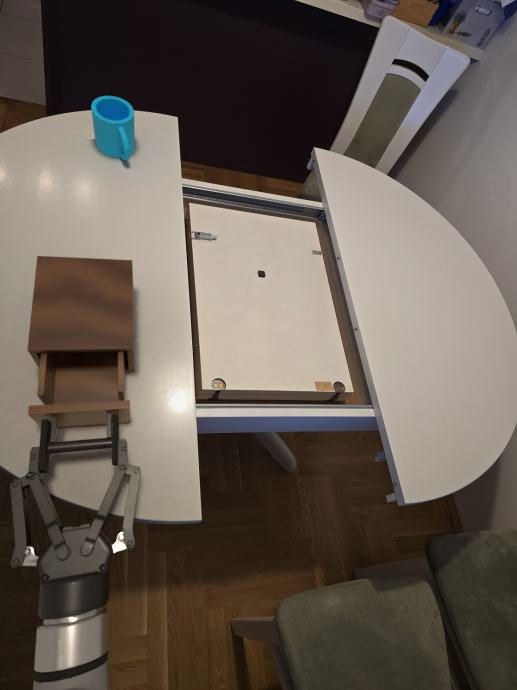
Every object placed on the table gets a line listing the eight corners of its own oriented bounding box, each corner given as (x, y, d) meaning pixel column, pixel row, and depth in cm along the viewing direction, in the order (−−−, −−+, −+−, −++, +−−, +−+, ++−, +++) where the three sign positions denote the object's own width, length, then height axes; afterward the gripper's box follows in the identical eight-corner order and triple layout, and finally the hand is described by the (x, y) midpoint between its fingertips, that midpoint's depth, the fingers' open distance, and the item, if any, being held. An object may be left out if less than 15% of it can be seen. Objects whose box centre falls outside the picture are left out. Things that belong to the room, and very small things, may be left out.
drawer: (131, 454, 59) (129, 444, 52) (38, 462, 56) (24, 453, 49) (130, 338, 67) (128, 316, 60) (48, 339, 63) (37, 316, 56)
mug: (89, 133, 85) (85, 97, 78) (126, 129, 88) (125, 94, 81) (109, 173, 82) (106, 139, 75) (147, 167, 85) (147, 134, 78)
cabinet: (134, 372, 66) (133, 348, 57) (43, 375, 62) (27, 350, 53) (133, 292, 72) (132, 260, 63) (50, 290, 68) (37, 255, 59)
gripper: (-19, 626, 45) (4, 431, 54) (165, 589, 51) (158, 420, 60) (-47, 643, 39) (-15, 418, 47) (168, 598, 45) (160, 407, 54)
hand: (82, 419), depth 54 cm, fingers closed on drawer, 8 cm apart
